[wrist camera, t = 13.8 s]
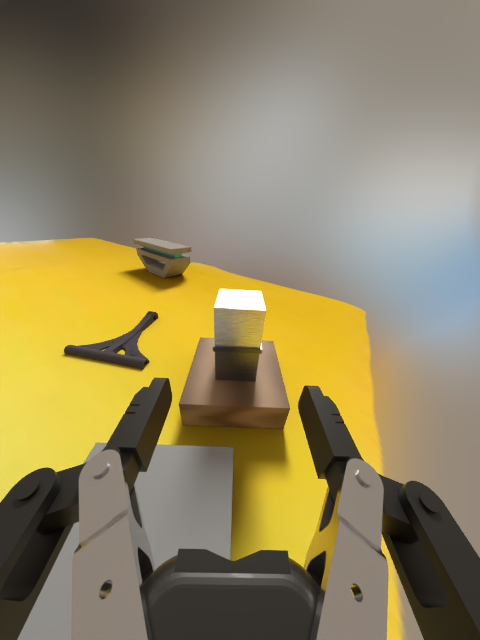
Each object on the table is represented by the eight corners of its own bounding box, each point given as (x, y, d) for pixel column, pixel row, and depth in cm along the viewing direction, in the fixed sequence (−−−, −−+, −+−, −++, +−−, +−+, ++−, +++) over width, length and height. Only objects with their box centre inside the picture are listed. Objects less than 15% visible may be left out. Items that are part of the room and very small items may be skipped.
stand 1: (-67, 804, 8) (-169, 866, 6) (110, 463, 18) (96, 442, 16) (220, 798, 8) (221, 856, 6) (232, 467, 18) (233, 447, 16)
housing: (213, 381, 22) (211, 308, 17) (218, 352, 27) (218, 288, 22) (257, 383, 23) (268, 311, 17) (254, 353, 27) (262, 290, 22)
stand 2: (182, 425, 22) (178, 403, 20) (201, 356, 32) (200, 337, 30) (283, 428, 22) (290, 408, 20) (269, 359, 32) (273, 341, 30)
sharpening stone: (193, 278, 68) (190, 247, 62) (174, 282, 63) (170, 249, 57) (157, 264, 81) (152, 237, 76) (139, 267, 76) (133, 239, 70)
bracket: (185, 324, 42) (184, 313, 40) (144, 371, 29) (140, 358, 28) (128, 316, 44) (125, 305, 42) (66, 357, 31) (59, 344, 30)
